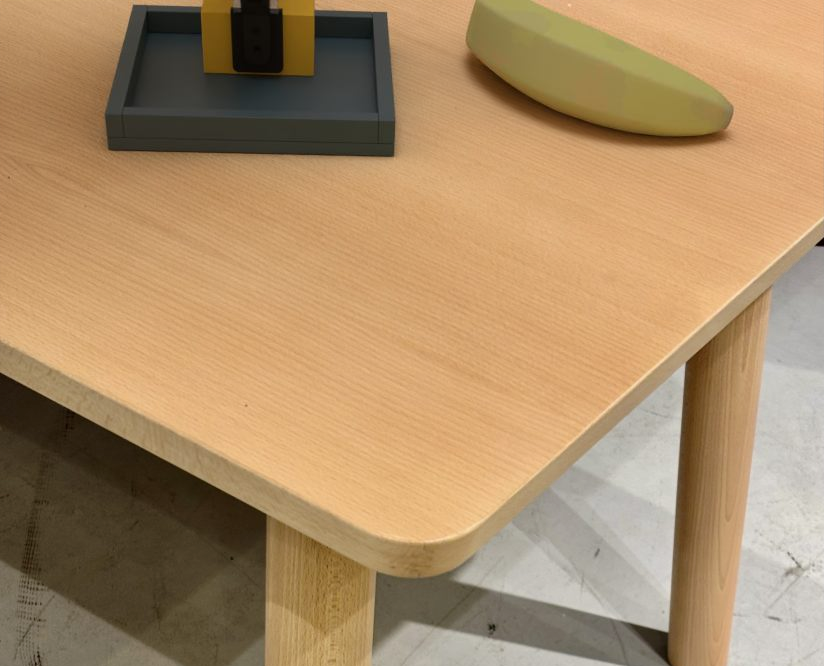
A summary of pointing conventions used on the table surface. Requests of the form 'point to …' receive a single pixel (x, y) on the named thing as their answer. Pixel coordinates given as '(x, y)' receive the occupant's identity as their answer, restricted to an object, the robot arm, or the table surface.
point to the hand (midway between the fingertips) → (259, 50)
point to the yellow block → (295, 37)
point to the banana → (591, 72)
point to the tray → (252, 91)
